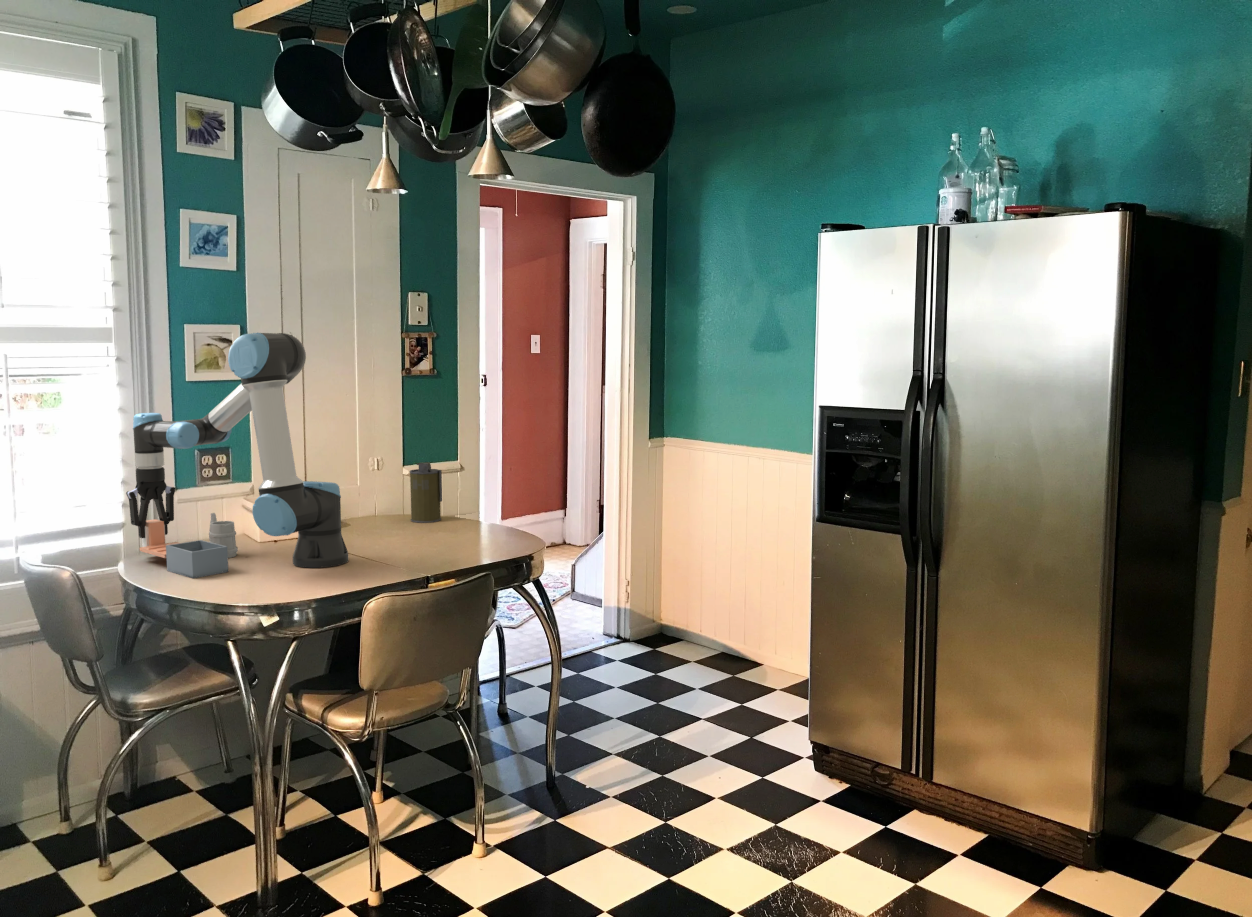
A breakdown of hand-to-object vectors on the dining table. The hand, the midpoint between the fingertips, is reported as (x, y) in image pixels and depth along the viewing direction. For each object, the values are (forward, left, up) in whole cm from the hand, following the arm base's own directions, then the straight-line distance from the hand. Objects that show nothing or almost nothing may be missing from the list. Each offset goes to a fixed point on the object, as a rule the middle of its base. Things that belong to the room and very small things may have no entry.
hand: (154, 547), depth 300 cm
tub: (-26, +1, -3) cm, 27 cm away
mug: (-11, -14, -3) cm, 18 cm away
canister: (-12, -90, -3) cm, 91 cm away
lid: (-7, 0, 0) cm, 7 cm away
